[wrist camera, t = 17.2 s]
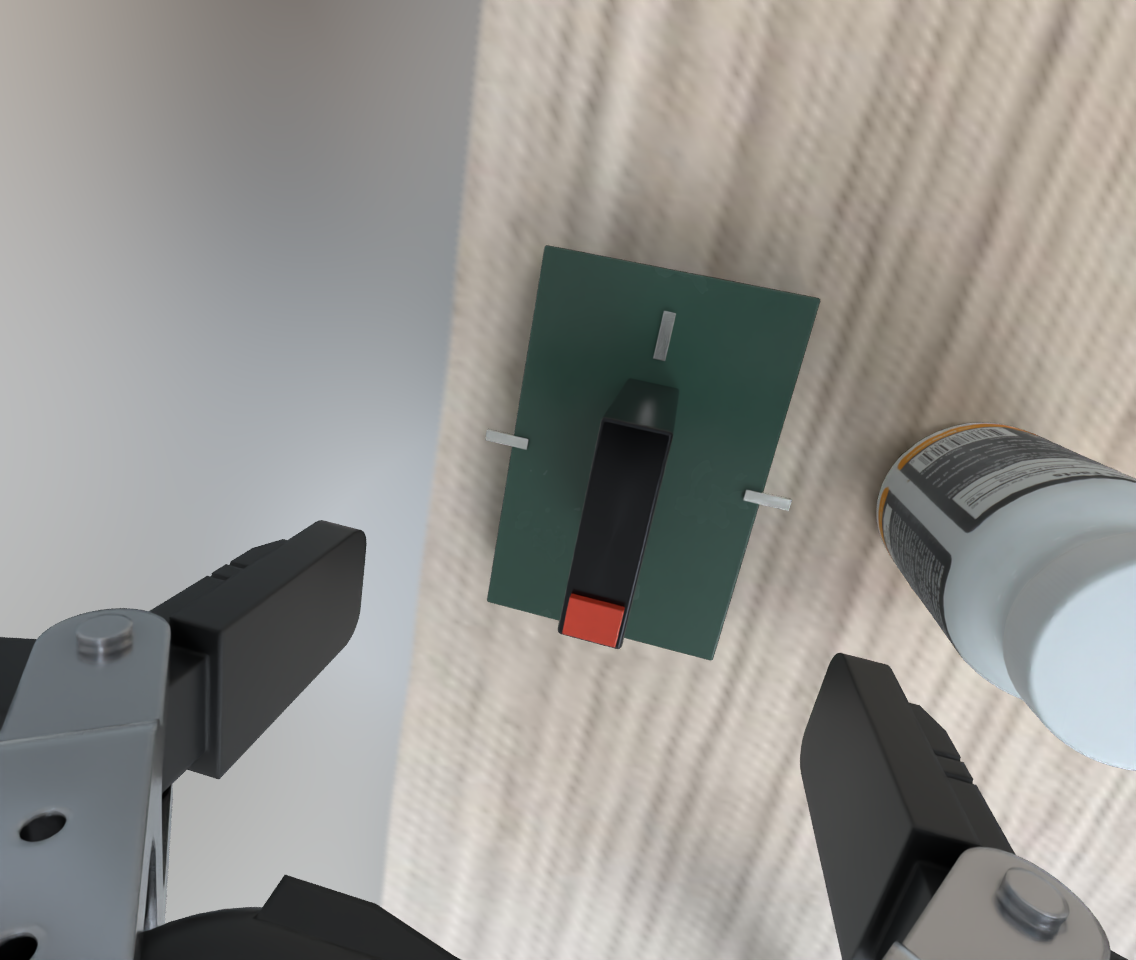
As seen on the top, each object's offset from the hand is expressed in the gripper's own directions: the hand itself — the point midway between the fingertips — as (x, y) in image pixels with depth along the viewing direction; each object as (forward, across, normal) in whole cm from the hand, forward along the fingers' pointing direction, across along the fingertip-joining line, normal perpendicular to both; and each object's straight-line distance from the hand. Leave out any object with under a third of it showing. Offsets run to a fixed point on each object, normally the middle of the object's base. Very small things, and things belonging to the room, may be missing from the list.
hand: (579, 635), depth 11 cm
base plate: (+13, 0, 0) cm, 13 cm away
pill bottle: (+13, -11, -1) cm, 17 cm away
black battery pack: (+10, 0, 0) cm, 10 cm away
